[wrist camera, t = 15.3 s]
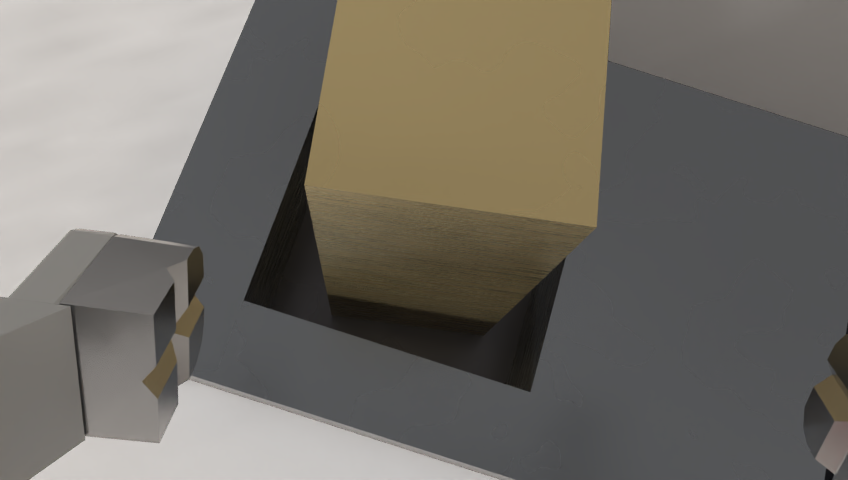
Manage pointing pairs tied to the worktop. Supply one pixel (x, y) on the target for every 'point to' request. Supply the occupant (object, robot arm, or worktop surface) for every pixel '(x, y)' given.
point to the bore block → (539, 288)
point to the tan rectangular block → (455, 154)
